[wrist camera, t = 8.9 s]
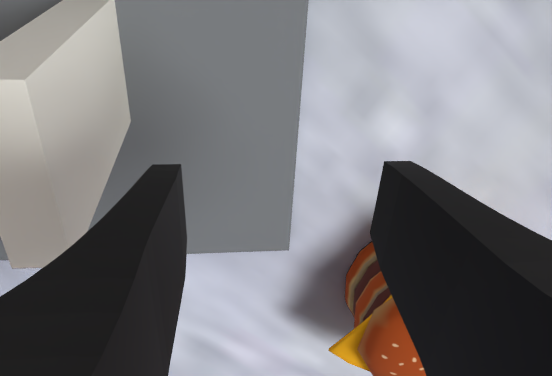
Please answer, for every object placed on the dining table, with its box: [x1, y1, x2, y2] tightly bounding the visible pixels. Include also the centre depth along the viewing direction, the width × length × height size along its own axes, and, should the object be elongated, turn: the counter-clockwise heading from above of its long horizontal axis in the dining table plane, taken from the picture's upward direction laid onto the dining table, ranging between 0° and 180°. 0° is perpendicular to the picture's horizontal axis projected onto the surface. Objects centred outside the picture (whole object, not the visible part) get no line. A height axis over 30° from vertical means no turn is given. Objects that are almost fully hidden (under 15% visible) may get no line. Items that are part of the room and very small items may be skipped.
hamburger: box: [329, 242, 426, 376], centre depth 24 cm, size 9×10×7 cm
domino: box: [0, 0, 131, 269], centre depth 14 cm, size 2×5×9 cm, turn 177°
